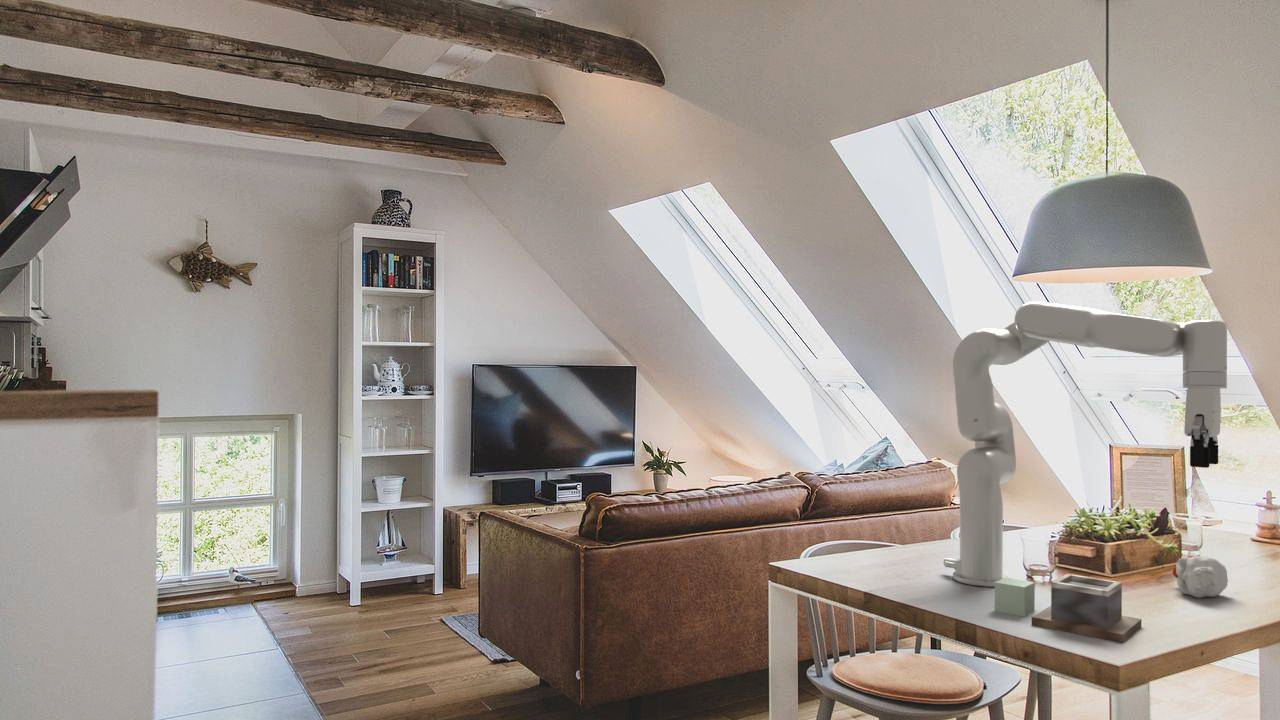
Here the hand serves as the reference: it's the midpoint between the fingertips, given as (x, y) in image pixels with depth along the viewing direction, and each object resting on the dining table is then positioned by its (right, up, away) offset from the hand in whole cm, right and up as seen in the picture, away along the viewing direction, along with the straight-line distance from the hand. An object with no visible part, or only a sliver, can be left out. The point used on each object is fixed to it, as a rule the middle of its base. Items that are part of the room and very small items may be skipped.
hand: (1204, 465), depth 174 cm
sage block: (-37, -31, +4) cm, 48 cm away
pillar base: (-27, -31, -6) cm, 41 cm away
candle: (+12, -32, +21) cm, 40 cm away
